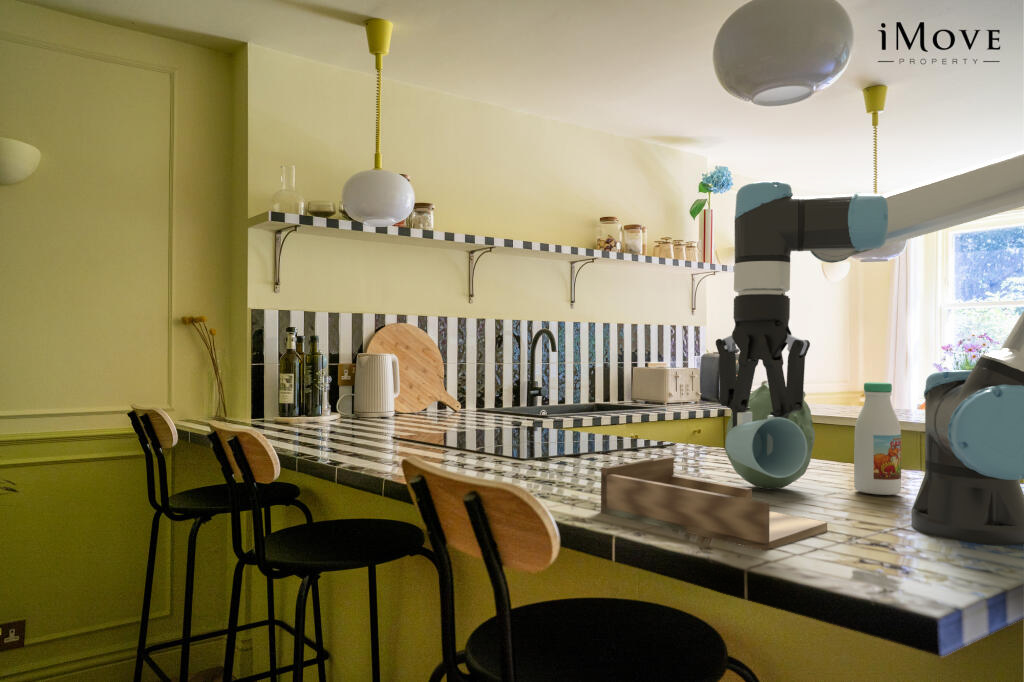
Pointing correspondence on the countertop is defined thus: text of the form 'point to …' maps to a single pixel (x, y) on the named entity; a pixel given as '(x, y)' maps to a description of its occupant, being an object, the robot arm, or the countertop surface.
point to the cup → (752, 446)
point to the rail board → (697, 505)
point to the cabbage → (760, 411)
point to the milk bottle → (877, 443)
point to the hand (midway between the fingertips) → (759, 459)
